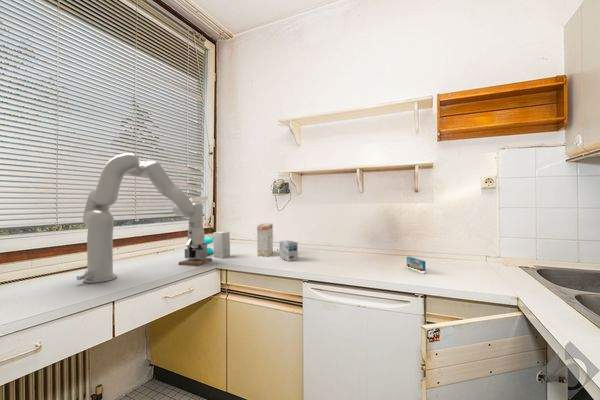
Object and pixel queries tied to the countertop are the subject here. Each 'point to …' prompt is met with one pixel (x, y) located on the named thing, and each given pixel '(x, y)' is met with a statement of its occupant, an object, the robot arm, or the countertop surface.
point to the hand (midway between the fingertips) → (195, 256)
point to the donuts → (209, 241)
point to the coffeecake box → (264, 239)
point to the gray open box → (197, 253)
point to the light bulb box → (289, 250)
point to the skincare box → (221, 244)
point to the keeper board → (195, 262)
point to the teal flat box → (416, 263)
